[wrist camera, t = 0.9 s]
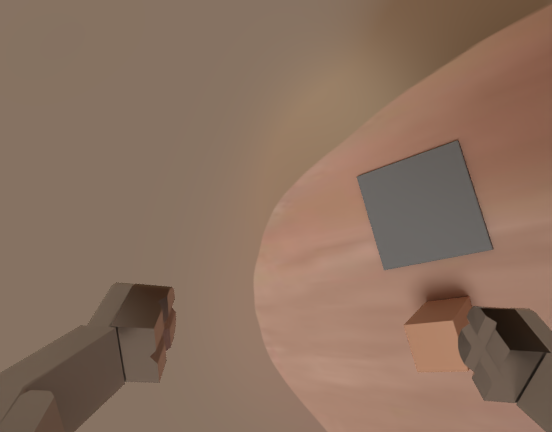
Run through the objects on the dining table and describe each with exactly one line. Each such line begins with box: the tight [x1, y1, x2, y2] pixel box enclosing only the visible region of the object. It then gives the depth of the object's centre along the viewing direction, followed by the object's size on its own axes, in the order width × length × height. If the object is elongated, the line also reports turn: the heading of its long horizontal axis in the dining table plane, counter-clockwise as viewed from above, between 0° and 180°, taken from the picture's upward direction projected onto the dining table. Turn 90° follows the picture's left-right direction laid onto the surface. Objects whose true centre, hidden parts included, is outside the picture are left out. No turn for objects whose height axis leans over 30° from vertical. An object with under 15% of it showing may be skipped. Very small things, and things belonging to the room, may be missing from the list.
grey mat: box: [357, 140, 493, 270], centre depth 50 cm, size 14×14×1 cm
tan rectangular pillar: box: [404, 296, 472, 372], centre depth 45 cm, size 5×5×10 cm
